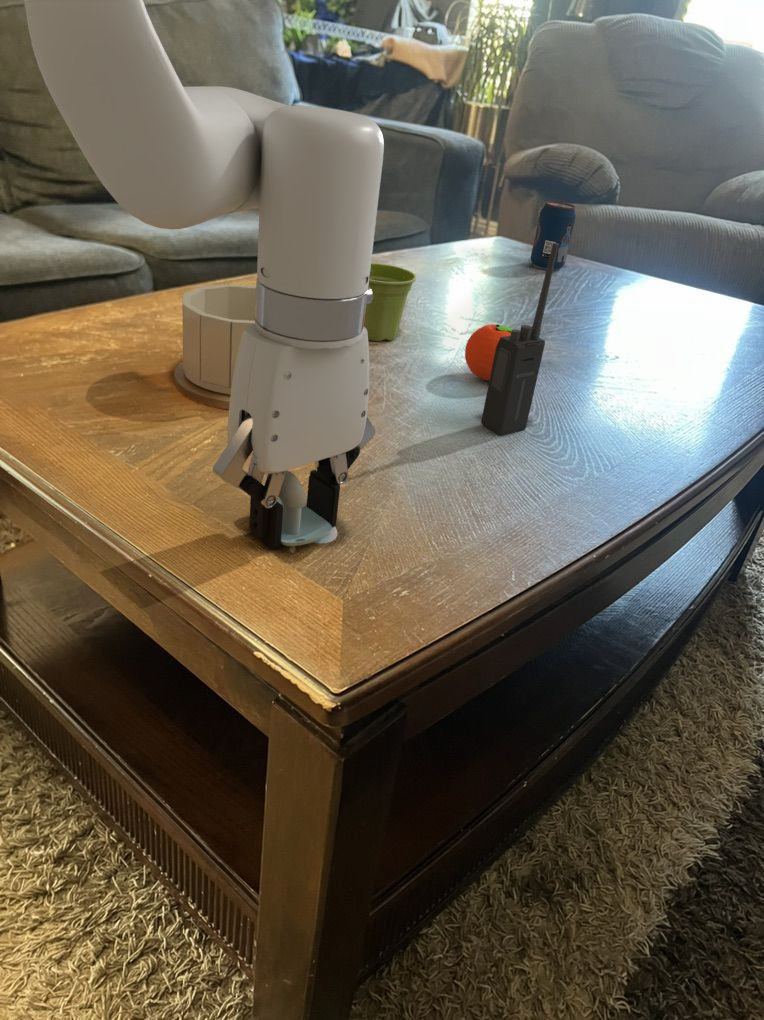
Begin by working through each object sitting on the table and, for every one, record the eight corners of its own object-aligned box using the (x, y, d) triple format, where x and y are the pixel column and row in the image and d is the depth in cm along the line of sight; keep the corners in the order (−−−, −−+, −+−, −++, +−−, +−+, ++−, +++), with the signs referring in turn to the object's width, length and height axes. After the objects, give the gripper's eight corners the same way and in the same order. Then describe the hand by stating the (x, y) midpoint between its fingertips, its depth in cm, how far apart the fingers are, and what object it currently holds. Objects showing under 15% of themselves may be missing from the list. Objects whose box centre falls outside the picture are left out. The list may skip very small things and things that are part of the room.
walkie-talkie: (506, 416, 89) (546, 238, 79) (527, 428, 87) (571, 246, 77) (476, 423, 87) (514, 239, 76) (497, 436, 85) (539, 248, 74)
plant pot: (332, 338, 105) (338, 273, 100) (351, 319, 113) (357, 258, 108) (399, 351, 104) (408, 287, 99) (413, 331, 112) (422, 270, 107)
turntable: (222, 422, 79) (223, 413, 79) (149, 371, 88) (148, 362, 88) (335, 394, 89) (335, 386, 88) (258, 351, 97) (258, 343, 97)
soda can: (531, 260, 160) (545, 198, 154) (565, 266, 159) (580, 205, 152) (526, 266, 154) (540, 203, 148) (561, 273, 153) (576, 210, 147)
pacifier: (298, 506, 68) (241, 525, 64) (305, 441, 64) (246, 457, 61) (355, 546, 63) (298, 569, 59) (365, 478, 60) (305, 498, 56)
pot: (369, 373, 92) (377, 307, 88) (224, 404, 80) (225, 329, 76) (303, 337, 100) (308, 275, 96) (161, 361, 88) (159, 290, 83)
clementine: (518, 372, 102) (529, 320, 99) (526, 393, 96) (539, 338, 93) (458, 365, 102) (467, 312, 98) (462, 386, 96) (473, 330, 92)
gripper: (366, 282, 61) (343, 483, 70) (171, 307, 50) (175, 540, 60) (434, 312, 57) (400, 521, 66) (237, 345, 46) (230, 590, 55)
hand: (293, 528), depth 63 cm, fingers closed on pacifier, 4 cm apart
